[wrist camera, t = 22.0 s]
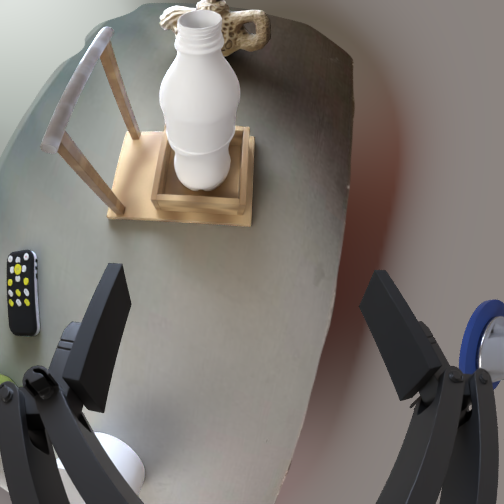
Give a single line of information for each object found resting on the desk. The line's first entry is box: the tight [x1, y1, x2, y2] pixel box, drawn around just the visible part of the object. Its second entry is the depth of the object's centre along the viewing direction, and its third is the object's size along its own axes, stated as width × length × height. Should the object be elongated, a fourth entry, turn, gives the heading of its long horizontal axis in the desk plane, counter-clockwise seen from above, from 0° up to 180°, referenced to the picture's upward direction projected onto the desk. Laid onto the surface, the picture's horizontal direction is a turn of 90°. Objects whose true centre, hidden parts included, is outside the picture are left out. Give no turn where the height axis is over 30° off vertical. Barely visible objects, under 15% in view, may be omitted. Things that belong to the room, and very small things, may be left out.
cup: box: [56, 432, 145, 504], centre depth 23 cm, size 12×12×12 cm
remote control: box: [7, 250, 40, 336], centre depth 31 cm, size 6×13×2 cm, turn 7°
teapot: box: [159, 0, 271, 56], centre depth 37 cm, size 21×12×15 cm, turn 70°
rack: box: [40, 27, 255, 227], centre depth 28 cm, size 20×15×21 cm
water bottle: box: [159, 10, 240, 191], centre depth 26 cm, size 7×7×25 cm
